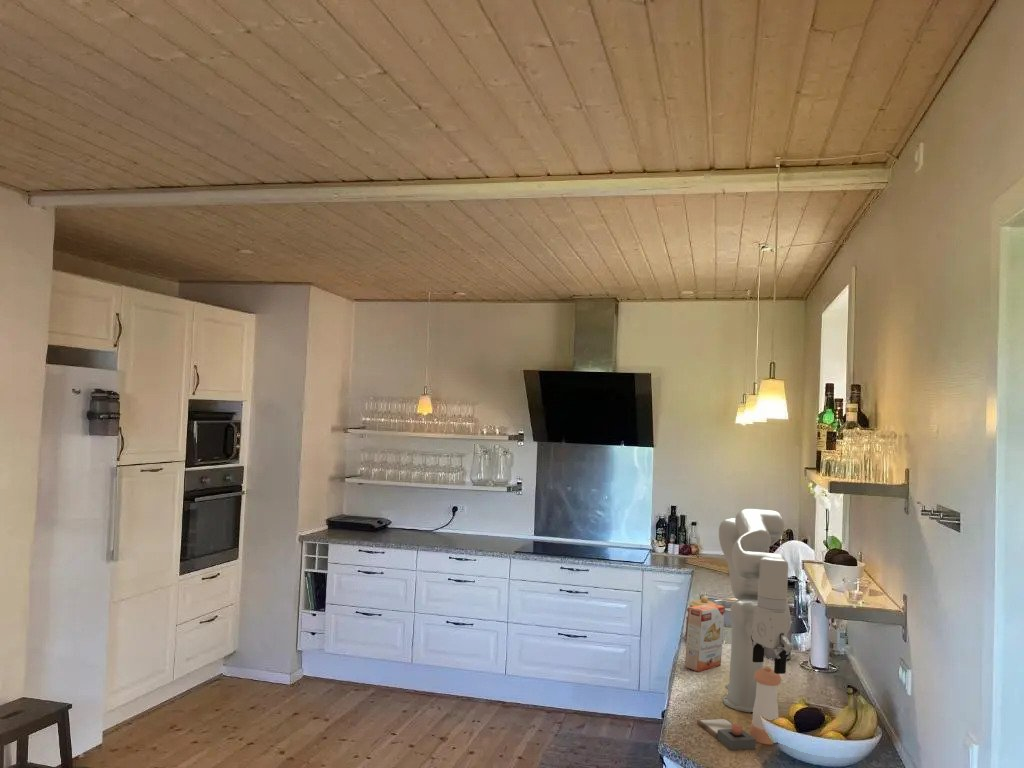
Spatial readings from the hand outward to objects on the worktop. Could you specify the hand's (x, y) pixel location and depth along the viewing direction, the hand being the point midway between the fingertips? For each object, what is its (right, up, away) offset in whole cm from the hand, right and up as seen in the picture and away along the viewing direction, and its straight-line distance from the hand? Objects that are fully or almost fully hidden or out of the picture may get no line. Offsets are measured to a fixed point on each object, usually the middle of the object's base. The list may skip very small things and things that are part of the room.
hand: (768, 667), depth 208 cm
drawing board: (-12, -19, +4) cm, 22 cm away
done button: (-10, -16, -5) cm, 19 cm away
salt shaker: (-1, -19, 0) cm, 19 cm away
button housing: (-10, -18, -5) cm, 22 cm away
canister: (+4, -24, +91) cm, 94 cm away
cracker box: (-3, -22, +59) cm, 63 cm away
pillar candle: (+29, -25, +77) cm, 86 cm away
